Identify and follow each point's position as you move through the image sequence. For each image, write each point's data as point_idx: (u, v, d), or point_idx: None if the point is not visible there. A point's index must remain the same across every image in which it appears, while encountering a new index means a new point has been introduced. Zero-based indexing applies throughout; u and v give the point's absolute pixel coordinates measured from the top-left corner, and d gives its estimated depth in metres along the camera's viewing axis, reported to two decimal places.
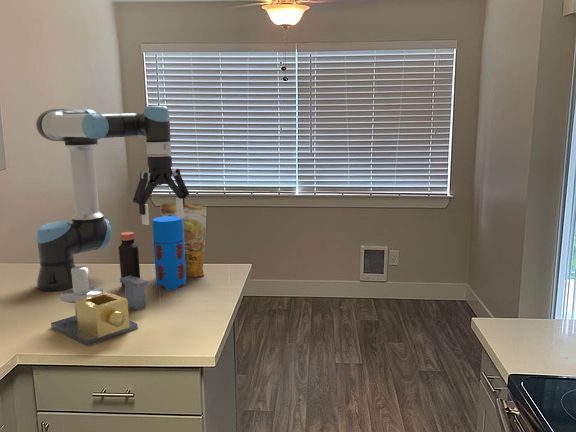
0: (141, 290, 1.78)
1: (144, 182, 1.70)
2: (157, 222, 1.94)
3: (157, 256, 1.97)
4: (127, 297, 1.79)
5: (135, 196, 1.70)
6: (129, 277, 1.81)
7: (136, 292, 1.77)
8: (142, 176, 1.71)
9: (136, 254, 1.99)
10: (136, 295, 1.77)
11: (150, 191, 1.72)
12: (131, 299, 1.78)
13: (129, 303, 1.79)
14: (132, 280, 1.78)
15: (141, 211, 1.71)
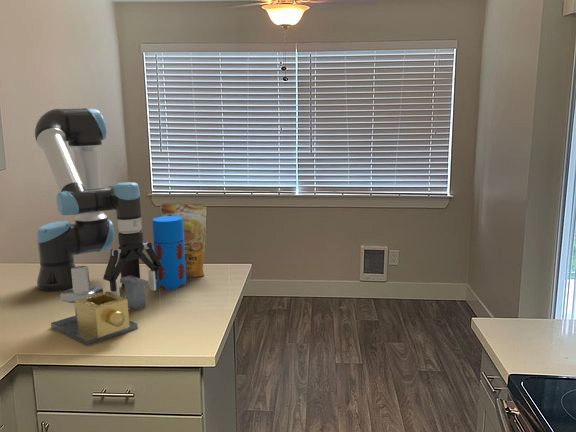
0: (141, 290, 1.78)
1: (114, 259, 1.71)
2: (157, 222, 1.94)
3: (157, 256, 1.97)
4: (127, 297, 1.79)
5: (105, 273, 1.71)
6: (129, 277, 1.81)
7: (136, 292, 1.77)
8: (112, 253, 1.71)
9: None
10: (136, 295, 1.77)
11: (121, 268, 1.73)
12: (131, 299, 1.78)
13: (129, 303, 1.79)
14: (132, 280, 1.78)
15: (112, 288, 1.72)
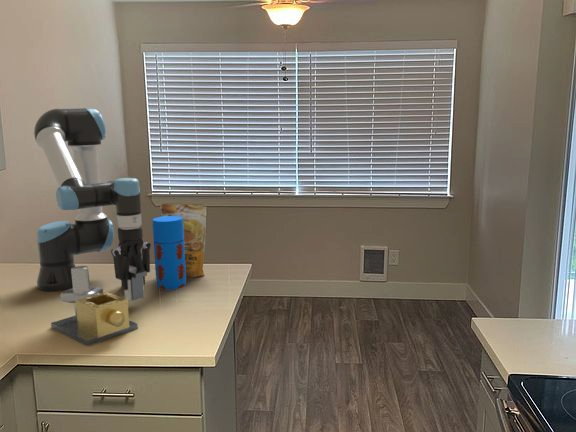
0: (140, 280, 1.78)
1: (118, 259, 1.72)
2: (157, 222, 1.94)
3: (157, 256, 1.97)
4: None
5: (116, 273, 1.74)
6: None
7: (135, 282, 1.77)
8: (114, 254, 1.72)
9: None
10: (135, 285, 1.77)
11: (127, 265, 1.75)
12: None
13: None
14: (130, 270, 1.78)
15: (124, 286, 1.76)
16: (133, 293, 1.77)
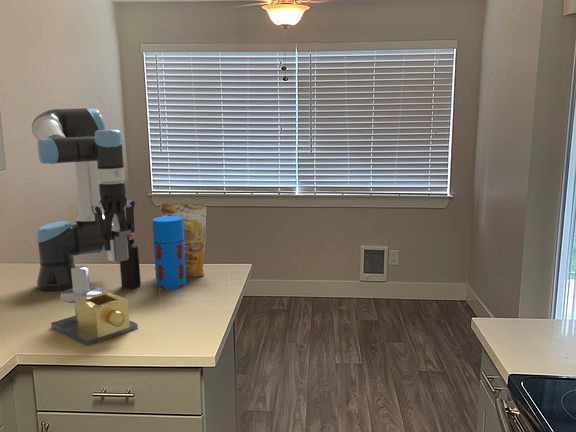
0: (124, 241, 1.65)
1: (99, 217, 1.60)
2: (157, 222, 1.94)
3: (157, 256, 1.97)
4: None
5: (97, 232, 1.61)
6: None
7: (118, 242, 1.64)
8: (95, 211, 1.59)
9: (136, 254, 1.99)
10: (118, 245, 1.64)
11: (110, 224, 1.62)
12: None
13: None
14: (113, 229, 1.65)
15: (106, 247, 1.63)
16: (116, 254, 1.64)
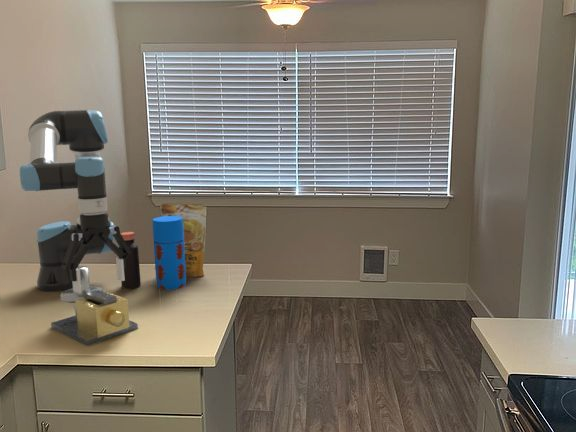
0: None
1: (74, 245, 1.49)
2: (157, 222, 1.94)
3: (157, 256, 1.97)
4: None
5: (64, 261, 1.49)
6: (95, 291, 1.60)
7: None
8: (72, 238, 1.49)
9: (136, 254, 1.99)
10: None
11: (82, 254, 1.51)
12: None
13: None
14: (98, 295, 1.57)
15: (71, 277, 1.50)
16: None
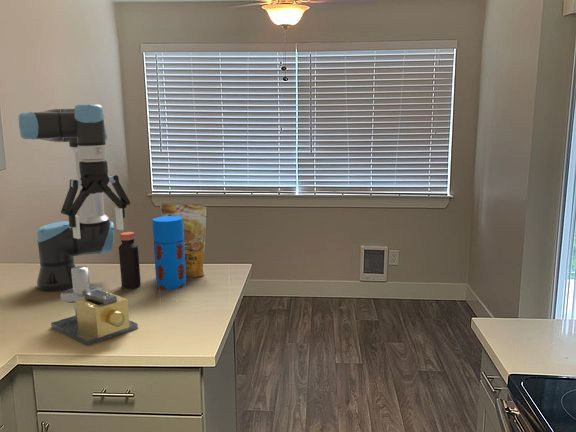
0: None
1: (73, 191, 1.50)
2: (157, 222, 1.94)
3: (157, 256, 1.97)
4: None
5: (63, 207, 1.50)
6: (95, 291, 1.60)
7: None
8: (71, 184, 1.51)
9: (136, 254, 1.99)
10: None
11: (81, 201, 1.52)
12: None
13: None
14: (98, 295, 1.57)
15: (71, 223, 1.52)
16: None
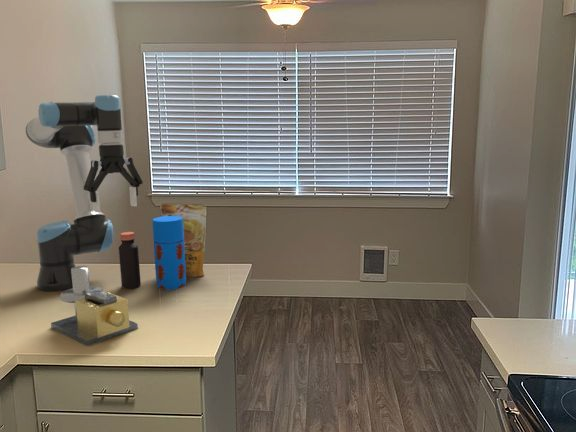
0: None
1: (94, 170, 1.72)
2: (157, 222, 1.94)
3: (157, 256, 1.97)
4: None
5: (86, 184, 1.72)
6: (95, 291, 1.60)
7: None
8: (93, 164, 1.73)
9: (136, 254, 1.99)
10: None
11: (101, 179, 1.74)
12: None
13: None
14: (98, 295, 1.57)
15: (92, 199, 1.74)
16: None
